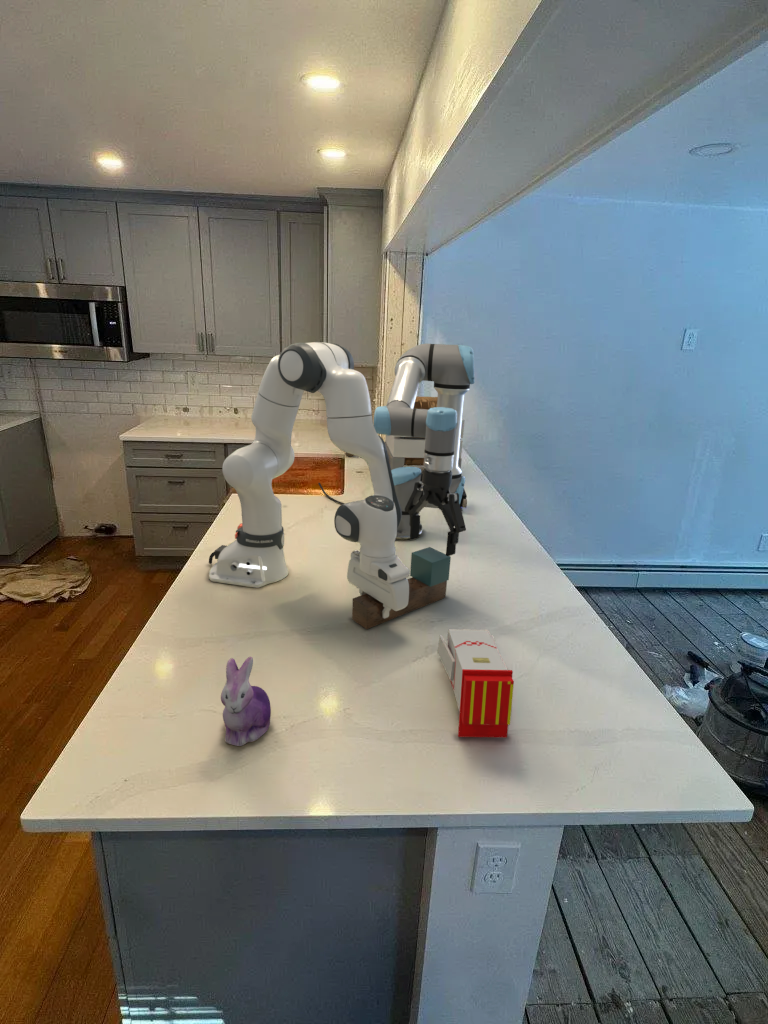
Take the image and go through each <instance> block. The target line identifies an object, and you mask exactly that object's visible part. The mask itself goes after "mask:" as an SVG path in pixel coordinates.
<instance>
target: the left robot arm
mask: <svg viewBox="0 0 768 1024" xmlns="http://www.w3.org/2000/svg"><path fill="white" fill-rule="evenodd" d="M352 355H353V354H352V353H351V351H349V350H348V349H347V347H344V346H343V345H341V344H339V343H330V342H325V341H313V342H295V343H291V344H289V345H287V346H286V347H284V348H283V349H282V350H281V352H280V353H279V354H276V355H275V356H273V357H272V358H271V359H270V361H269V362H268V365H267V366H266V369H265V371H264V373H263V376H262V378H261V381H260V384H259V387H258V390H257V394H256V398H255V401H254V405H253V408H252V412H251V416H250V419H251V423H252V424H253V426H254V428H255V434H254V435H255V436H254V439H253V442H252V443H251V444H248V445H244V446H243V447H240V448H237V449H236V450H234V451H233V452H232V453H230V454H229V455H228V456H227V457H225V459H224V460H223V463H222V468H221V470H222V475H223V478H224V480H225V482H226V483H227V484H228V485H229V486H230V487H231V488H233V489H234V490H235V492H236V495H237V497H238V500H239V503H240V509H241V522H242V523H241V522H240V523H239V524H238V526H237V528H236V530H235V534H234V541H232V542H231V543H229V544H228V545H224V544H222V545H220V546H219V547H217V548H216V549H215V550H214V551H213V552H211V553H210V554H209V557H208V564H211V565H212V564H213V558H214V559H215V560H217V561H216V562H215V563H214V564H213V565H212V566H211V568H210V570H209V571H208V579H209V581H211V582H214V583H221V584H227V585H235V586H240V587H241V586H243V587H248V588H255V589H257V588H262V587H264V586H266V585H270V584H273V583H276V582H279V581H281V580H283V579H285V578H287V576H288V575H289V568H288V565H287V561H286V557H285V551H284V546H285V532H284V531H285V530H284V526H283V508H282V507H283V506H282V502H281V499H280V498H279V497H277V496H276V495H275V493H274V490H273V486H272V483H273V480H274V479H276V478H277V477H280V476H282V475H284V474H285V473H286V472H287V471H288V470H289V469H290V468H291V467H292V465H293V464H294V462H295V459H296V458H295V451H294V448H293V445H292V435H293V429H294V425H295V422H296V418H297V416H298V412H299V409H300V405H301V401H302V398H303V395H304V392H307V393H310V394H315V393H317V392H319V394H321V395H322V397H323V399H324V404H325V413H326V417H325V418H326V428H327V429H326V430H327V433H328V438H329V440H330V442H331V443H332V444H333V445H334V446H335V447H336V448H337V449H338V450H340V451H342V452H344V453H350V454H353V456H355V457H359V458H361V459H362V460H364V462H365V463H366V464H367V466H368V471H369V476H370V480H371V485H372V489H373V495H369V496H366V497H365V498H364V499H360V500H354V501H350V502H344V503H345V504H343V505H342V504H340V505H339V506H338V507H337V509H336V510H335V513H334V519H333V520H334V529H335V532H336V533H337V535H339V536H340V537H341V538H342V539H344V540H346V541H349V542H352V543H358V544H359V545H360V547H359V550H358V549H355V550H353V551H351V553H350V559H349V562H348V564H347V565H348V566H347V572H346V573H347V574H346V577H347V578H346V579H347V581H348V583H349V584H350V585H352V586H354V587H356V588H357V589H358V593H359V596H361V595H364V594H368V595H370V596H372V597H373V598H375V599H377V600H378V601H380V602H381V603H383V607H385V608H384V609H383V610H380V616H381V617H383V618H384V619H385V618H387V617H389V611H390V610H391V609H393V610H394V611H398V610H401V609H404V608H405V607H406V606H407V605H408V600H409V583H408V580H407V579H408V577H409V576H410V568H408V566H406V564H405V563H403V562H402V560H401V559H400V557H399V556H398V555H397V554H396V553H397V549H396V544H395V542H396V540H395V539H396V536H397V528H398V526H399V524H400V522H401V518H402V511H401V507H400V504H399V501H398V499H397V496H396V492H395V487H394V482H393V477H392V472H391V467H390V462H389V457H388V453H387V449H386V446H385V443H384V442H385V440H384V439H383V437H382V436H380V434H377V433H376V430H375V428H374V420H373V414H372V413H373V411H372V402H371V397H370V391H369V387H368V383H367V379H366V377H365V376H364V374H363V373H361V372H360V371H358V370H356V369H355V361H354V358H353V356H352Z"/></svg>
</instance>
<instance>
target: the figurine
mask: <svg viewBox="0 0 768 1024" xmlns="http://www.w3.org/2000/svg"><path fill="white" fill-rule="evenodd" d="M253 666H254V657H252V656H249V657H247V658H246V659H245V660H244V661H243V663H242V664H241V666H240V667H238V664H237V662H236V660H235V658H233V657H231V658H229V659H228V660H227V662H226V669H225V674H226V682H225V685H224V686H223V688H222V690H221V694H220V701H221V704H222V705H223V706H224V708H223V710H222V721H223V724H224V727H225V735H224V741H225V743H227V744H229V745H233V746H236V747H237V746H238V747H242V746H244V745H246V744H247V743H252V742H255V741H257V740H258V739H260V738H261V737H262V736H263V735H265V734H266V732H268V730H269V728H270V725H271V716H272V707H271V701H270V698H269V695H268V693H267V692H266V691H265V690H264V689H263V688H262V687H260V686H257V685H251V683H250V676H251V673H252V670H253Z"/></svg>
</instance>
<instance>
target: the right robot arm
mask: <svg viewBox="0 0 768 1024" xmlns="http://www.w3.org/2000/svg"><path fill="white" fill-rule="evenodd" d="M474 352H475V351H474V349H473V347H471V346H469V345H463V344H443V343H427V342H426V343H421V344H420V343H419V344H417V345H415V346H412V347H411V348H409V349H407V350H406V351H405V352H404V353H402V354H401V356H400V357H399V358H398V360H397V361H396V363H395V365H394V376H395V377H394V380H393V383H392V385H391V389H390V393H389V395H388V397H387V398H388V399H387V401H386V405H382V406H381V405H380V406H377V407H376V408H375V409H374V414H373V425H374V428H375V430H376V433H377V434H378V435H383V436H386V435H387V436H390V435H392V436H408V437H420V438H425V451H424V466H422V467H423V470H422V469H421V468H420V467H419V466H418V467H417V466H404V467H400V468H396V469H393V470H391V472H392V477H393V482H394V487H395V492H396V496H397V499H398V501H399V504H400V507H401V511H402V518H401V522H400V524H399V526H398V528H397V536H396V539H395V541H410V540H411V541H413V540H416V539H419V538H420V537H421V536H422V535H423V525H422V524H421V515H420V512H422V510H423V509H424V508H429V509H438V510H440V511H441V513H442V515H443V518H444V521H445V522H446V525H447V527H448V530H449V531H447V537H446V549H445V554H446V556H450V557H451V556H453V555H456V547H457V545H458V543H459V536H460V533H463V532H465V531H467V527H466V524H465V519H464V515H463V511H461V508H462V507H460V502H461V498H462V494H463V489H464V490H465V484H466V477H465V476H464V475H463V474H462V473H463V471H462V468H461V469H460V468H459V467H458V459H459V447H460V439H461V438H460V436H461V425H462V419H463V414H464V413H463V412H464V403H465V395H466V393H468V391H470V388H471V385H473V384H475V382H476V381H475V379H476V378H475V353H474ZM422 382H433V389H434V390H435V391H436V393H437V396H436V397H437V407H434V408H430V409H429V410H427V409H413V408H414V403H415V399H416V397H417V394H418V391H419V387H420V384H421V383H422ZM317 484H318V486H319V488H320V490H321V491H322V493H323V495H325V497H327V499H329V500H330V501H332V502H335V503H337V504H340V505H343V504H345V503H346V502H342V501H339V500H337V499H336V498H333V497H331V496H330V495H329V494H328V493H327V492H326V491H325V489H324V487H323V485H322V484H321V482H318V483H317Z"/></svg>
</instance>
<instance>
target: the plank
mask: <svg viewBox="0 0 768 1024" xmlns="http://www.w3.org/2000/svg"><path fill="white" fill-rule="evenodd" d="M406 579H407V580H408V583H409V600H408V605H407V606H406V607H405V608H404V609H401V610H398V611H394V610H393V609H391V610H390V611H389V617H387V618H385V619H384V618H383V617H381V616H380V610H383V609H384V608H385V607H383V603H381V602H380V601H378V600H377V599H375V598H373V597H372V596H370V595H368V594H364V595H359V596H356V597H353V598H352V603H351V604H352V605H351V613H352V614H351V620H353V621H354V622H355V623H357V624H358V625H360V626H361V627H362V628H364V629H365V630H368V629H371V628H374V627H377V626H378V625H381V624H384V623H386V622H389V621H392V620H393V619H396V618H399V617H401V616H404V615H406V614H409V613H411V612H413V611H416V610H418V609H421V608H423V607H426V606H428V605H430V604H434V603H436V602H438V601H440V600H443V599H446V597H447V585H448V580H447V581H445V582H442V583H439V584H437V585H434V586H431V587H430V586H428V585H426V584H424V583H422V582H421V581H419V580H417V579H415V578H413V577H409V578H406Z"/></svg>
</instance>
